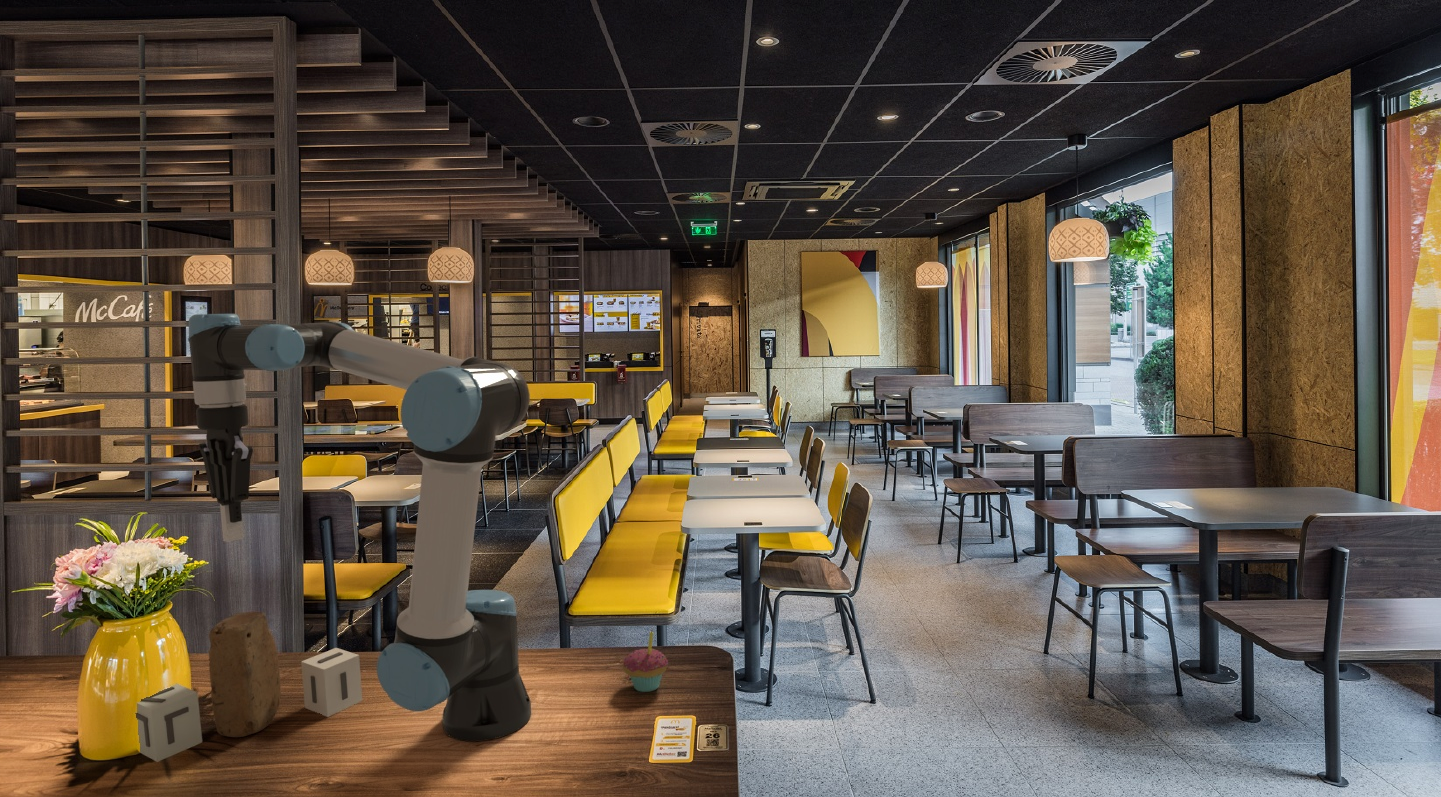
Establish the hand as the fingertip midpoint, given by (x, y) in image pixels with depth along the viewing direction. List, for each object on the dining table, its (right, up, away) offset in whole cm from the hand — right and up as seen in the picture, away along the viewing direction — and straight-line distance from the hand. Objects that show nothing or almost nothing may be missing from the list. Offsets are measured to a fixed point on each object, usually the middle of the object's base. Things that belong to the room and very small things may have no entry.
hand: (233, 539), depth 142 cm
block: (+1, -34, +4) cm, 34 cm away
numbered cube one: (+12, -33, +11) cm, 36 cm away
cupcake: (+70, -31, +15) cm, 78 cm away
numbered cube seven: (-9, -35, -3) cm, 36 cm away
